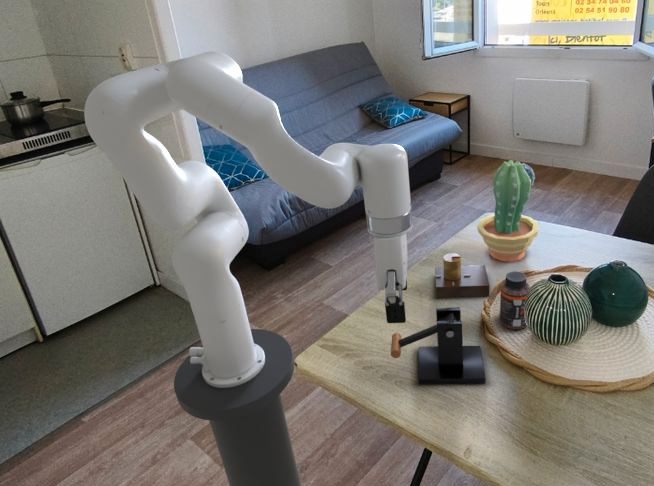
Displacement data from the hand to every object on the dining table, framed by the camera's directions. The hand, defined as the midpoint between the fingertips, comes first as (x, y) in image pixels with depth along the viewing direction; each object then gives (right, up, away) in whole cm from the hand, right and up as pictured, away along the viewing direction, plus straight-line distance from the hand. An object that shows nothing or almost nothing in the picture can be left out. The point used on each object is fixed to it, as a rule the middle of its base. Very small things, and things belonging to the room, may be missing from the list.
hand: (397, 305), depth 90 cm
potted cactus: (+30, +6, +41) cm, 52 cm away
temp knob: (+14, +1, +28) cm, 32 cm away
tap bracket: (+10, -13, +5) cm, 17 cm away
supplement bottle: (+25, -7, +16) cm, 30 cm away
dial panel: (+16, -1, +29) cm, 34 cm away
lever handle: (+5, -7, +3) cm, 9 cm away
